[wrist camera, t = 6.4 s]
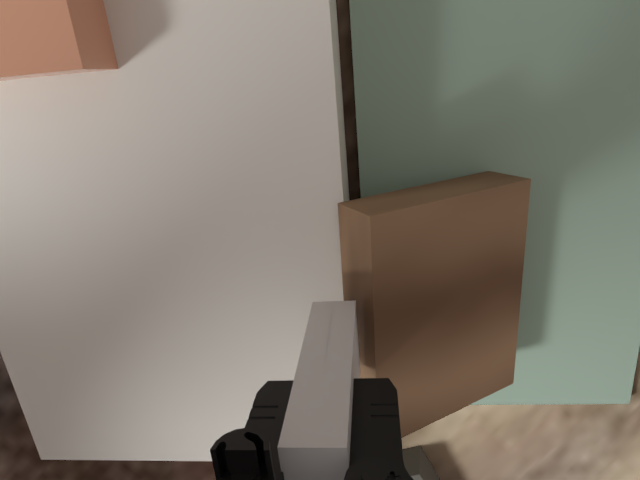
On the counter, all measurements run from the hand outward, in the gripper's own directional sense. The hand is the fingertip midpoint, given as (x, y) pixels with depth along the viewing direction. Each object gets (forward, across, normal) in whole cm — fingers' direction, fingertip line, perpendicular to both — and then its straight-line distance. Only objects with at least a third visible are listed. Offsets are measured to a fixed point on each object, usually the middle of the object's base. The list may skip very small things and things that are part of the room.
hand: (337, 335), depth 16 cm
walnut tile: (+3, -3, 0) cm, 4 cm away
